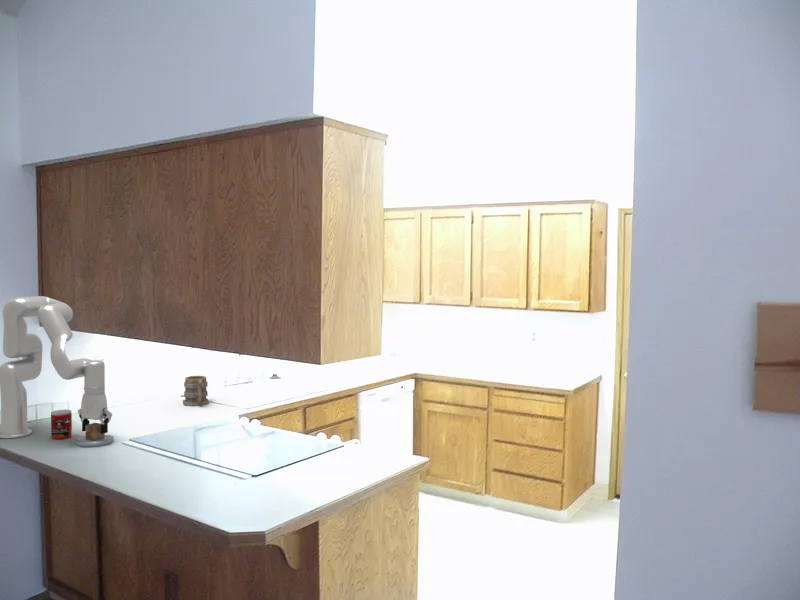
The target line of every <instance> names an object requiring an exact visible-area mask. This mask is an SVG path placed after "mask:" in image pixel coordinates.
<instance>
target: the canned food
mask: <svg viewBox="0 0 800 600" xmlns="http://www.w3.org/2000/svg"><path fill="white" fill-rule="evenodd" d="M72 414H73V413H72V409H57V410H53V411H51V413H50V437H51V439H52V440H53V441H55V440H56V441H58V440H59V441H61V440H67V439H69V438H72V435H73V434H72V433H73V431H72V425H73V421H72V416H73V415H72Z"/></svg>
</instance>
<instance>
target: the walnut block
mask: <svg viewBox="0 0 800 600" xmlns="http://www.w3.org/2000/svg"><path fill="white" fill-rule="evenodd" d="M101 424H102V423H101V422H100V423H99V422H92V423H89V425H85V431H84V432H85V433H84V434H85V436H86V440H89V441H98V440H101V439H104V438H105V435H106V433H104V434H101V433H100V425H101Z"/></svg>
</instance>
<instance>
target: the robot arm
mask: <svg viewBox="0 0 800 600" xmlns="http://www.w3.org/2000/svg"><path fill="white" fill-rule="evenodd" d="M73 312H74V311H73V309H72V307H71V306H69V305H68V304H67V303H65V302H62V301H59V300H57V299H54V298H51V297H48V296H43V295H37V296H19V297H14V298H11V299H9V300H8V301H6V303H4V306H3V309H2V320H3V333H2V334H3V336H2V352H3V353H2V354H3V355H4V356H5V357H6V358H9V359H15V360H10V361H7V362H4V363H2V364H1V365H0V438H1V439H16V438H22V437H26V436H29V435H31V434H32V429H30V428H28V392H27V389H26V388H25V386H24V384H23V383H24V382H28V381H31V380H36V379H37V378H38V377H39V376H40V374H41V372H42V368H43V367H42V365H43V363H42V362H43V342H42V340H41V338H40V337H39V336H38V335H37V334H35V333H28V325H27V321H26V319H25V318H29V317H31V318H32V317H37V319H38V321H39V323H40V324H41V327H42V328H43V329H44V331H45V333H46V335H47V337H48V339H49V341H50V342H51V347H50V354H49V355H50V362H51V364H52V366H53V368H54V369H55V371H56V373H57V374H58V376H59V377H60V378H61V379H63V380H66V381H68V380H75V379H78V378H83V379H84V381H83V383H84V387H83V390H84V392H83V394H82V398H81V402H80V403H81V404H80V408H79V409H78V410H77V413H78V417H79V418H80V421H81V427H82V428H81V431H82V432H85V425H89V424H90V420H93V421H99V422H100V423H101V425H100V433H101V434H104V433H105V434H107V433H108V429H109V428H108V427H109V426H108V425H109V423H110V421H111V419H112V417H113V413H112V412H111V411H109V410H108V401H107V395H106V393H105V391H106V387H105V386H106V382H105V376H106V375H105V362H104V361H103V360H99V359H93V360H92V359H89V358H84V357H82V358H78V359H72V360H70V359H69V358H68V356H67V353H66V351H65V345H66V344H67V343H68V342H69V341H70V340H71V339H72V338H73V336H74V335H73V331H72V330H71V328H70V326H69V324H68V323H69V322H70V321H71V320H72V319H73V316H74V313H73ZM18 358H20V359H18ZM21 358H22V359H21Z"/></svg>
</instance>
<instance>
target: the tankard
mask: <svg viewBox="0 0 800 600" xmlns="http://www.w3.org/2000/svg"><path fill="white" fill-rule="evenodd" d="M184 378H185V381H184V382H183V386H184V389H185V390H184V391H183V395H184V398H185V399H183V400H182V404H183V406H185V407H203V406H206V405H209V404H210V401H209V399H208V392H209V391H208V390H207V388H208V381H207V377H206V376H204V375H190V376H185V377H184Z"/></svg>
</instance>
